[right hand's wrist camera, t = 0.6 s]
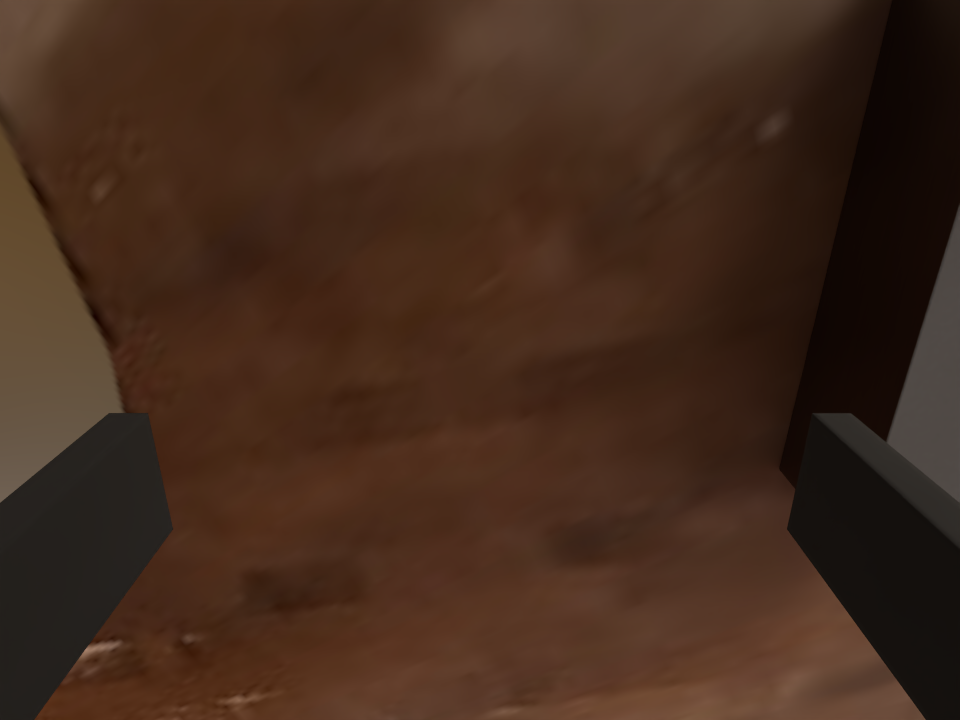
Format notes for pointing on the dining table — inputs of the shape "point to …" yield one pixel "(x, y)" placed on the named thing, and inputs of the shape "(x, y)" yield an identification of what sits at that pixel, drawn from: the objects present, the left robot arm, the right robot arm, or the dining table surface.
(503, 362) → the dining table surface
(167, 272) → the dining table surface
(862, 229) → the bar
